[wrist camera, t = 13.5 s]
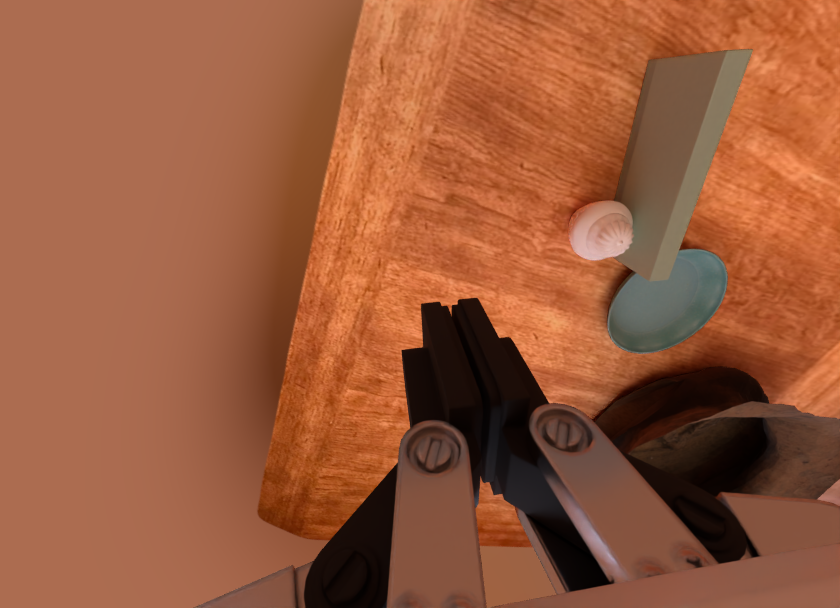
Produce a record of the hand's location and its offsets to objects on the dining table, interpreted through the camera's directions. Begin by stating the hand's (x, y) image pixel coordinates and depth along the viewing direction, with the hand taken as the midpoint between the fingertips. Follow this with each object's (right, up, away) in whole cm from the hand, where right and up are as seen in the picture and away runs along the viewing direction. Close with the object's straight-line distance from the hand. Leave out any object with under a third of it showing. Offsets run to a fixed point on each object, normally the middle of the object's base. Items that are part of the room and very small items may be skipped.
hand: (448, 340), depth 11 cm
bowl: (+40, -19, +48) cm, 65 cm away
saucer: (+29, +2, +34) cm, 44 cm away
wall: (+22, +15, +25) cm, 37 cm away
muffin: (+17, +10, +27) cm, 34 cm away
